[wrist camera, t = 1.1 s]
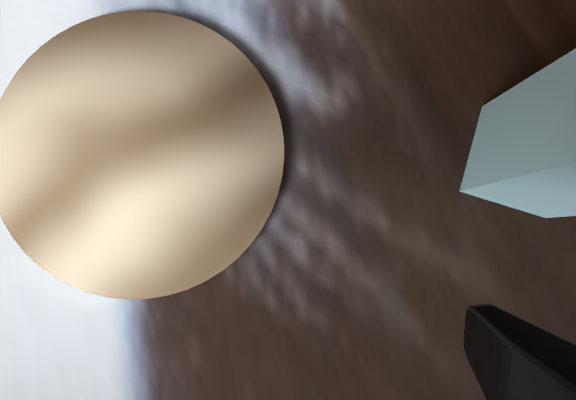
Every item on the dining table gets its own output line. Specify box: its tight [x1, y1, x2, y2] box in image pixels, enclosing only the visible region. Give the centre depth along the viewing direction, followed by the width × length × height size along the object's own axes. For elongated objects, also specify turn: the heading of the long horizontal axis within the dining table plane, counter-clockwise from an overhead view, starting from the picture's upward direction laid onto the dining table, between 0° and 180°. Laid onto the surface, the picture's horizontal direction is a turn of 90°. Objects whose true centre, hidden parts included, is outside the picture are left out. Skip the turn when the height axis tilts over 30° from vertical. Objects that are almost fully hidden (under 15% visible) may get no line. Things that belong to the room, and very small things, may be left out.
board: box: [0, 11, 284, 299], centre depth 22 cm, size 14×14×1 cm
